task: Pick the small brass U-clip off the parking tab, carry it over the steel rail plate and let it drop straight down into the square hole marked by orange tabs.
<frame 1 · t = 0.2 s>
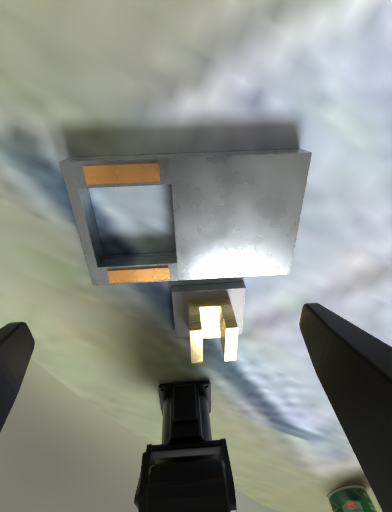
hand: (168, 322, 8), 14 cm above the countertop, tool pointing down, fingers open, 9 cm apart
rail plate: (189, 216, 22), on the countertop
canned tomato: (345, 491, 54), on the countertop
brass clip: (208, 314, 26), point 1 cm above the countertop, touching parking tab
parking tab: (207, 307, 27), on the countertop
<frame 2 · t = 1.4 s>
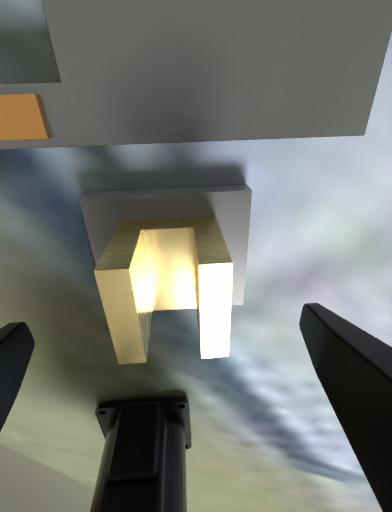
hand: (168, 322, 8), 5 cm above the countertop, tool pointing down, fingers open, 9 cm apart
brass clip: (171, 258, 12), point 1 cm above the countertop, touching parking tab
parking tab: (172, 248, 13), on the countertop
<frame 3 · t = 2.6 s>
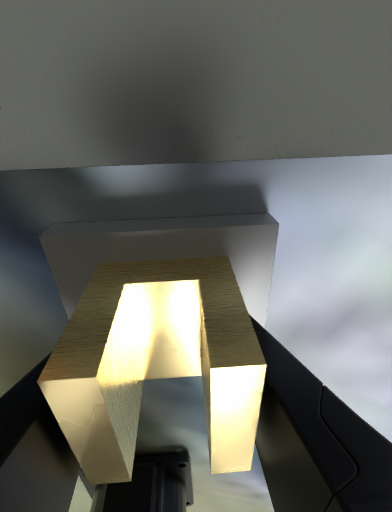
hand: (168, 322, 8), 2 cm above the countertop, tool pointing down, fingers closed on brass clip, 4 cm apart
brass clip: (169, 309, 9), point 1 cm above the countertop, touching gripper, parking tab
parking tab: (170, 292, 10), on the countertop
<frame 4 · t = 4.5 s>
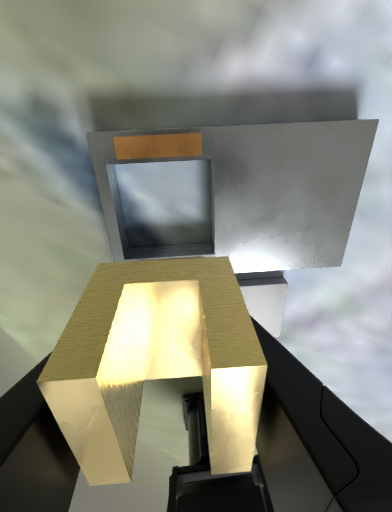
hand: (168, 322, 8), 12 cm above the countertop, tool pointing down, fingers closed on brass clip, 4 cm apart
rail plate: (228, 201, 19), on the countertop
brass clip: (169, 309, 9), point 11 cm above the countertop, touching gripper
parking tab: (242, 307, 24), on the countertop
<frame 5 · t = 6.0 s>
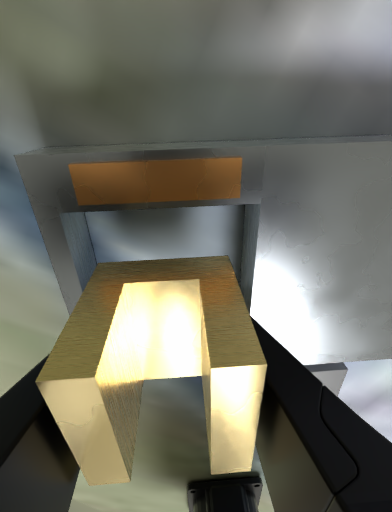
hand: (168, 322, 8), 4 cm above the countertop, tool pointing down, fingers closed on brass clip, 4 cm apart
rail plate: (268, 257, 12), on the countertop
brass clip: (169, 309, 9), point 3 cm above the countertop, touching gripper
parking tab: (274, 390, 17), on the countertop
when the fingers open (3 cm above the countertop, at t = 6.9 s): brass clip drops 2 cm, resting in rail plate.
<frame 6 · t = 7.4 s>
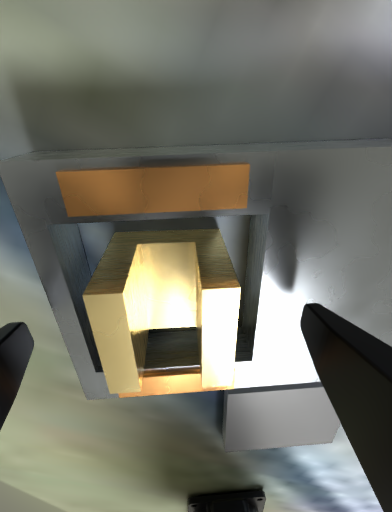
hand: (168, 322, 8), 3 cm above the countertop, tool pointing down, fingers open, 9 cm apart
rail plate: (275, 268, 11), on the countertop
brass clip: (170, 272, 11), resting in rail plate
parking tab: (279, 404, 16), on the countertop
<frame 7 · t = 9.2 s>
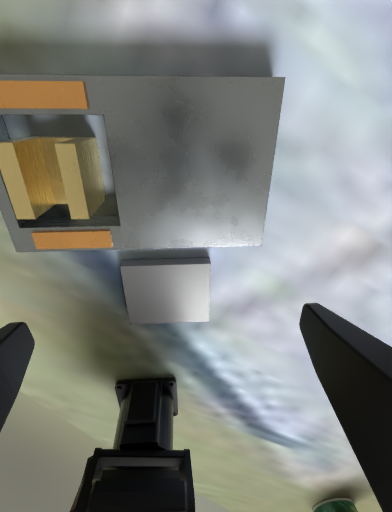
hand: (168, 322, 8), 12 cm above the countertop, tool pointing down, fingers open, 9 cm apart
rail plate: (138, 169, 17), on the countertop
canned tomato: (332, 504, 50), on the countertop
brass clip: (71, 169, 17), resting in rail plate
parking tab: (168, 288, 22), on the countertop
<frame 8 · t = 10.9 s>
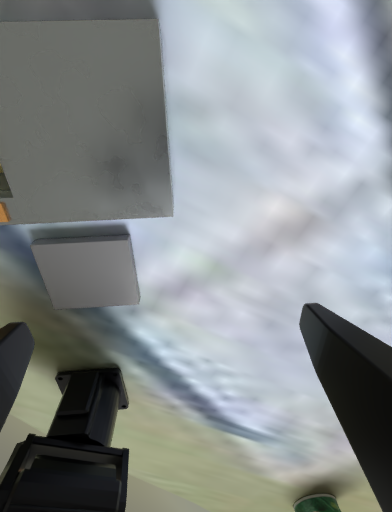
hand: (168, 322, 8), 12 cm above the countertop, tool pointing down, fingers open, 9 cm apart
rail plate: (32, 136, 16), on the countertop
canned tomato: (313, 501, 48), on the countertop
parking tab: (92, 270, 21), on the countertop
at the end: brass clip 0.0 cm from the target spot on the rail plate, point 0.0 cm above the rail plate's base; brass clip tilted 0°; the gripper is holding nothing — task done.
